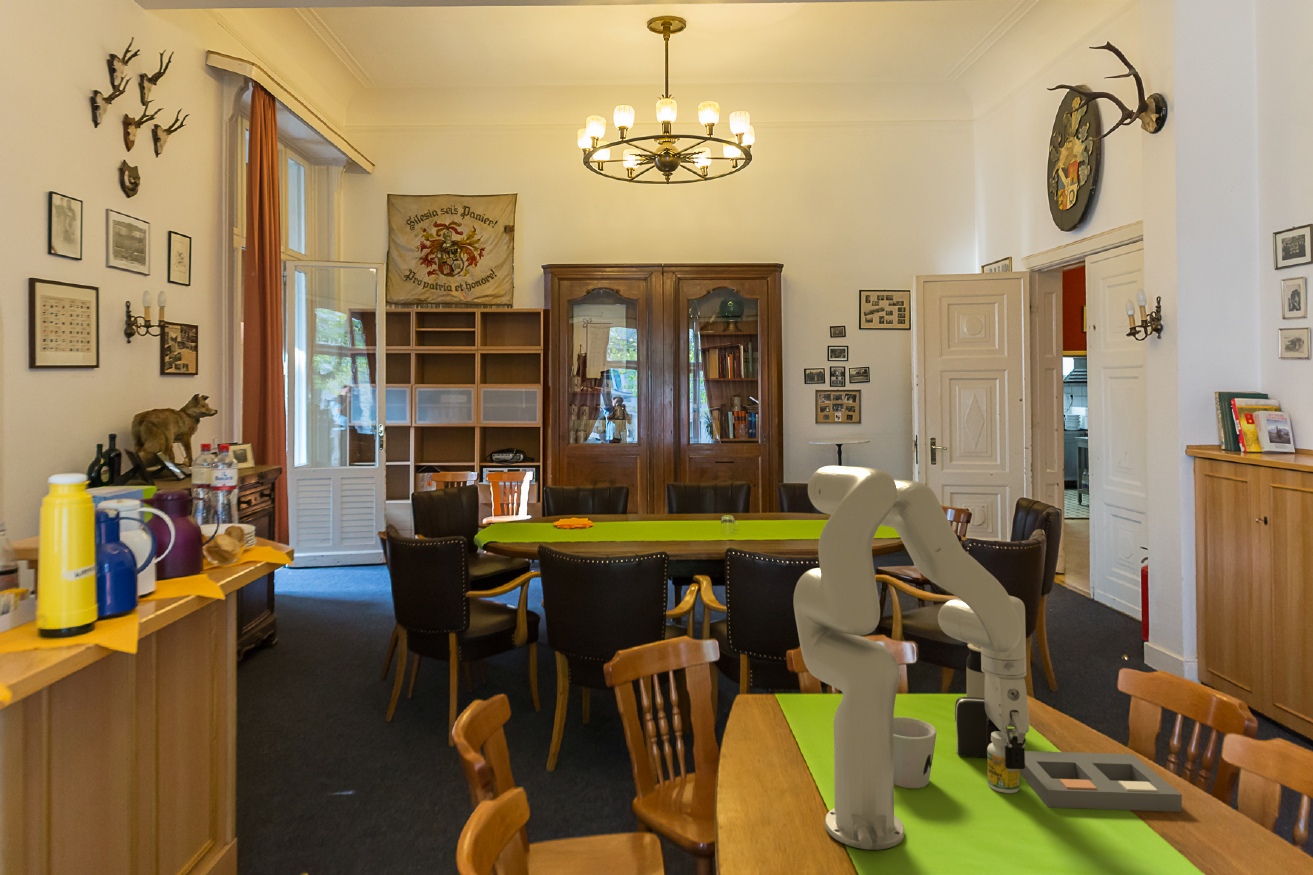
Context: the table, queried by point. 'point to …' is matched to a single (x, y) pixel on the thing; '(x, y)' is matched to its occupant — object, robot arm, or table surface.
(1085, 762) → the socket board
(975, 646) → the travel mug
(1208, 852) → the table surface
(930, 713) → the table surface
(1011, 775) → the supplement bottle
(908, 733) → the mug
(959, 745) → the battery charger
